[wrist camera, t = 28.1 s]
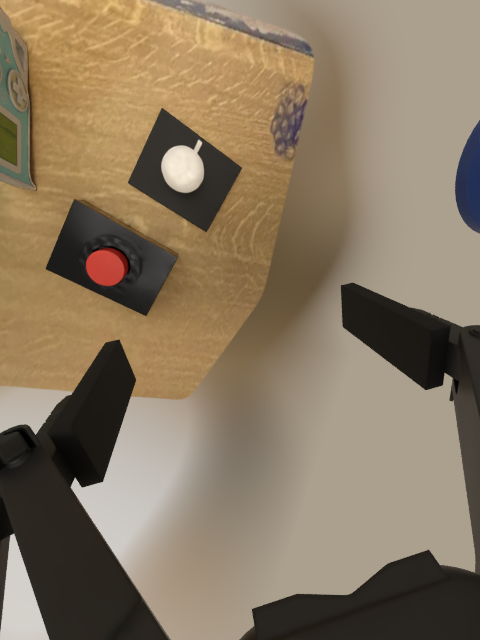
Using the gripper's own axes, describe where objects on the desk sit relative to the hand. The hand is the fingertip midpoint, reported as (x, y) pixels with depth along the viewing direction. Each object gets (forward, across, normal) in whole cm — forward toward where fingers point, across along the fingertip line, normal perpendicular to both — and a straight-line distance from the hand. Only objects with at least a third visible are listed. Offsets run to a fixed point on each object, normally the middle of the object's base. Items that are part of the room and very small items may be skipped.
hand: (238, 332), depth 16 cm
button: (+24, +13, -3) cm, 27 cm away
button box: (+28, +13, -3) cm, 31 cm away
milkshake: (+28, 0, -11) cm, 30 cm away
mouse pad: (+28, 0, -11) cm, 31 cm away
